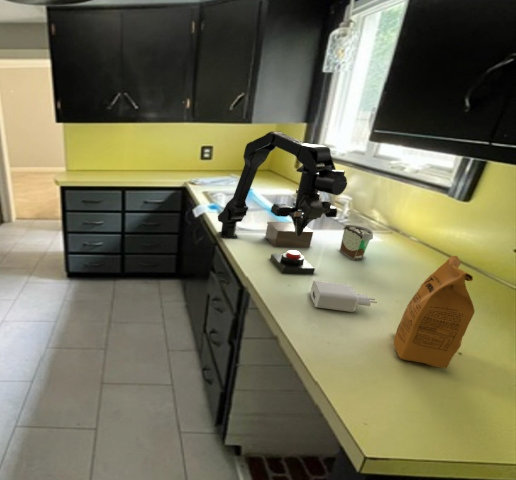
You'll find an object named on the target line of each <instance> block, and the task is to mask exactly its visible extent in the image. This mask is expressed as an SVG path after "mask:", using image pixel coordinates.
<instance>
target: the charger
mask: <svg viewBox="0 0 516 480" xmlns="http://www.w3.org/2000/svg"><path fill="white" fill-rule="evenodd" d="M309 293H310V297H311V300H312V302H313V305H314V308H319V309H325V310H326V309H327V310H334V311H341V312H348V313H349V312H350V313H353V312H355V311H356V310H357V309H358V306H365V307H371V303H372V304H377V303H378V301H376V299H375V298H372V297H369V296H368V295H367V294H364V293H357V291H355V288H354V287H353V286H351V285H350V284H346V283H336V282H330V281H321V280H313V281H312V284H311V288H310V292H309Z"/></svg>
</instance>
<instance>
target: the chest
mask: <svg viewBox="0 0 516 480" xmlns="http://www.w3.org/2000/svg"><path fill="white" fill-rule="evenodd" d="M264 236H265V239H266V240H267V241H268V242H269V243H270V244H271V245H272V246H273V247H275V248H276V247H277V248H310V247H311V244H312V239H313V236H314V232H313V233H301V235H300V236H296V233H277V232H276V231H275V230H274V229H273V228H272V227H271V226H269V225H268V224H267V226H266V230H265V235H264Z"/></svg>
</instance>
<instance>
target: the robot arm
mask: <svg viewBox="0 0 516 480" xmlns="http://www.w3.org/2000/svg"><path fill="white" fill-rule="evenodd" d="M277 148H278V149H281V150H282V151H284V152H287V153H288V154H290V155H293V156H294V157H296V160H297V162H299V163H300V164H301V166H300V167H298V168H297V169H296V170H295V171H296V172H297V173H301V175H300V179H299V184H298V188H297V189H296V190H295V194H296V196H295V197H296V198H295V201H294V202H293V203H292V206H288V205H287V204H286V203H273V205H272V206H271V208H270V213H271V214H273V215H274V216H275V217H282V218H283V217H285V218H287V217H288V216H289V217H290V218H291V220H292V221H291V222H293V224H294V228H295V233H296V236H300V235H301V233H302V232H303V231H304V229H305V227H308V225H309V224H310V223H311V222H313V221H315V220H318V219H320V218H322V216H323V214H324V216H325V217H326V218H337V216H338V212H339V211H338V208H337V207H335V206H333V205H332V201H330V200H323V201H322V200H320V197H321V194H320V193H319V192H322V193H325V194H329V195H333V196H339V195H342V194H343V192H344V191H345V190H346V188H347V186H348V178H347V176H345V173H346V171H345V170H338V169H336V166H335V163H334V160H333V157H332V154H331V148H330V147H329V146H326V145H321V144H315V143H314V144H312V143H307V142H305V141H302V140H299V139H297V138H294V137H293V136H290V135H287V134H285V133H283V132H282V131H281V130H280V131H276V130H275V131H269V132H267V133H265V134H263V136H260V137H258V138H256V139H254V140H252V141H249V142H247V144H246V145H245V148H244V152H243V156H242V157H243V161H244V166H243V168H242V171H241V174H240V176H239V178H238V182H237V185H236V188H235V190H234V193H233V196H232V198H231V199H230V200H228V201H227V203H226V205H225V206H224V208H223V210H222V211H221V212H220V213H218V215H217V221H218V222H220V223H221V228H220V229H221V230H220V231H218V234H219V236H220V237H221V238H227V239H228V238H229V239H230V238H233V239H236V238H238V235H237V234H236V230H237V223H242V221H243V220H244V217H246V216H247V212H248V211H249V206H248V205H247V202H246V200H247V197H248V195H249V193H250V190H251V188H252V185H253V182H254V180H255V178H256V174H257V172H258V169H259V167H261V166H262V165H263V164H264V163H265V162H266V160H267V159H268V157H269V155H270V153H271V152H273V151H274V150H276V149H277Z"/></svg>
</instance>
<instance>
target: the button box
mask: <svg viewBox="0 0 516 480" xmlns="http://www.w3.org/2000/svg"><path fill="white" fill-rule="evenodd" d="M287 252H288V251H286V252H282V254H281V253H270V258H269V260H270V262H272V264H273V265H274V266H275V267H276V268H277V269H278V270H279V271H280V273H281V274H283V275H284V274H285V275H314V274H315V271H316V268H315V267H314V266H313V265H312V264H311V263H310V262H309V261H307V260H306V259H305V258H306V257H305V256H304V255H303V254H300V258H298V259H294V258H289V257H287Z"/></svg>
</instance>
